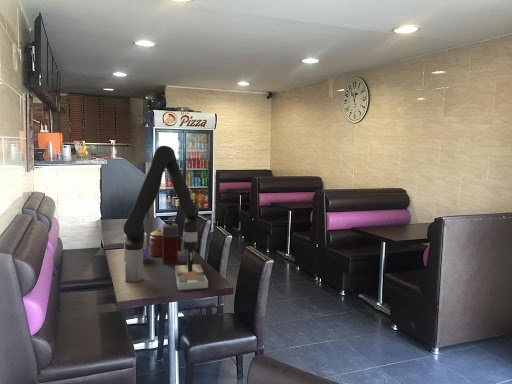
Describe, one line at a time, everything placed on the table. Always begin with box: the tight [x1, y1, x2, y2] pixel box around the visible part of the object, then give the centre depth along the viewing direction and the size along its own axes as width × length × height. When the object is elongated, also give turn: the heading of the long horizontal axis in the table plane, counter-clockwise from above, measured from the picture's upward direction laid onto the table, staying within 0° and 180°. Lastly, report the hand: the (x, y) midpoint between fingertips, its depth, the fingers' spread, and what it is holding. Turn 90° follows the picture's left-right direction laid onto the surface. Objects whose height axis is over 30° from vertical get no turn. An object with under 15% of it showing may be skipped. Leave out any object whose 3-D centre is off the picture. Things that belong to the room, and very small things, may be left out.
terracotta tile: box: [186, 272, 197, 280], centre depth 212 cm, size 5×5×2 cm
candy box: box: [123, 232, 148, 262], centre depth 254 cm, size 14×6×16 cm, turn 112°
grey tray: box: [176, 274, 209, 291], centre depth 210 cm, size 15×11×4 cm
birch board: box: [174, 263, 205, 280], centre depth 222 cm, size 14×14×5 cm
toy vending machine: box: [162, 217, 183, 265], centre depth 250 cm, size 9×11×28 cm
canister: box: [148, 227, 163, 257], centre depth 268 cm, size 13×13×18 cm
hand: (190, 271), depth 216 cm, fingers closed
